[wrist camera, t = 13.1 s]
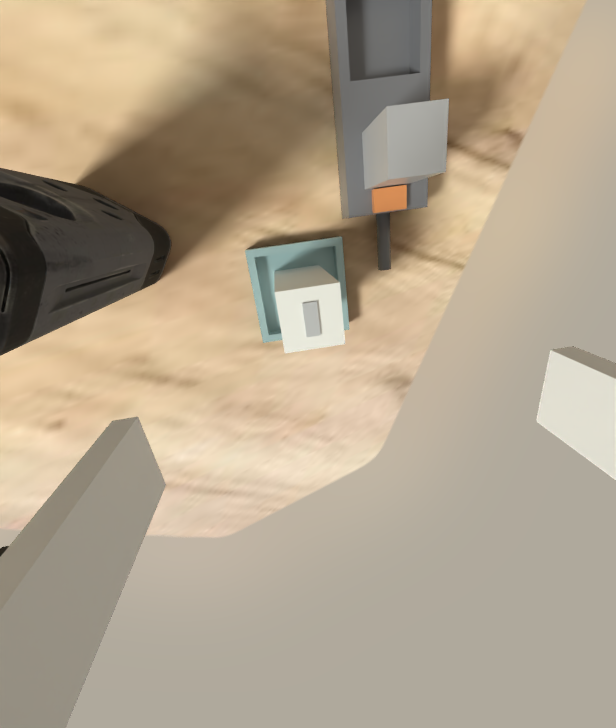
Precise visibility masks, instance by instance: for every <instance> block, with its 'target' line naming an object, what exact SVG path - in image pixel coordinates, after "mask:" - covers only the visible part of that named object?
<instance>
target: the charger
mask: <svg viewBox="0 0 616 728" xmlns="http://www.w3.org/2000/svg"><path fill="white" fill-rule="evenodd" d="M274 290H275V298H276V304H277V310H278V316H279V321H280V327H281V333H282V339H283V345H284V351H285V353H291V352H297V351H304V350H310V349H316V348H323V347H329V346H336V345H342V344H345V336H344V324H343V312H342V300H341V289H340V282H339V281H338V280H336V279H335V278H334V277H333V276H331V275H330V274H329V273H328V272H327V271H325V270H324V269H323V268H322V267H321V266H319V265H314V266H307V267H301V268H294V269H287V270H280V271H274Z"/></svg>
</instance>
